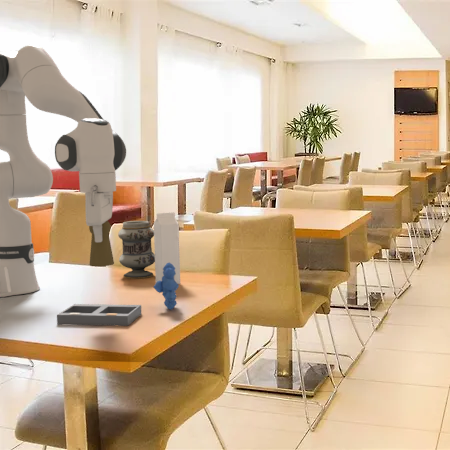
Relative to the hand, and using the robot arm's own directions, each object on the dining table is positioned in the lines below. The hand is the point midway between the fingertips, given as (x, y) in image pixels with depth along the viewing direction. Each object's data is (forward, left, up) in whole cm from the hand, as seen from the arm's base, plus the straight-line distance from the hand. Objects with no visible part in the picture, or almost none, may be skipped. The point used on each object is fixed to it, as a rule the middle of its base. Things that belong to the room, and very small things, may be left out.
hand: (100, 240), depth 186 cm
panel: (-1, +1, -20) cm, 20 cm away
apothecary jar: (-8, +60, -20) cm, 63 cm away
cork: (0, 0, -6) cm, 6 cm away
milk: (+5, +48, -20) cm, 52 cm away
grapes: (+13, +14, -20) cm, 28 cm away
